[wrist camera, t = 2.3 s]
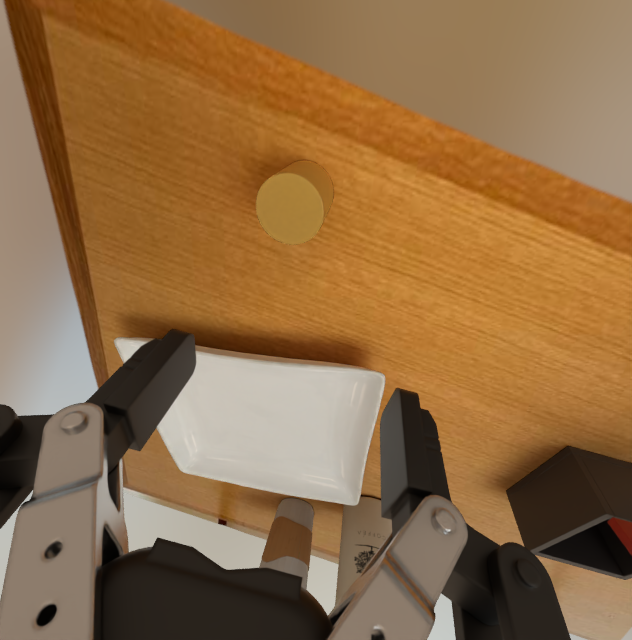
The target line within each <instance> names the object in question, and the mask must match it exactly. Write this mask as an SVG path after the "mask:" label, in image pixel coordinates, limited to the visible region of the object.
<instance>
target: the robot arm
mask: <svg viewBox="0 0 632 640" xmlns="http://www.w3.org/2000/svg"><path fill="white" fill-rule="evenodd" d="M195 367H196V350H195V337H194V335H193V334H191V333H187V332H184V331H180V330H176V329H172V330H170V331H169V332H168V333H167V334H166V336H165V337H164V338H163V339H162V340H159V339H156V338H155V339H153V340H151V341H150V342H148V343H146V344H144V345H142V346H141V347H140V348H139V349H138V350H137V351H136V352H135V353H134V354H133V355H132V356H131V358H129V359H128V360H127V361H126V362H125V363H124V364H123V366H122V367H120V368H119V369H118V370H117V371H116V372H115V373H114V374H113V375H112V376H111V377H110V378H109V379H108V380H107V381H106V382H105V383H104V384H103V385H102V386H101V387H100V388H99V389H98V390H97V391H96V392H95V393H94V395H92V397H90V398H89V400H87V401H86V402H85V403H78V404H74V405H71V406H68V407H66V408H64V409H62V410H60V411H59V412H57V413H56V414H53V415H31V416H17V414H16V413H15V412H14V411H13V409H12V408H11V407H9V406H6V405H1V404H0V529H1V528H2V526H3V525H4V524H5V523H6V522H7V520H8V519H9V518H10V517H11V515H12V514H13V513H14V512H15V511H16V509H17V508H18V507H19V506H20V504H21V503H22V502H23V501H24V500H25V499H26V497H27V496H28V495H29V494H30V493H31V491H32V490H33V494H32V497H31V499H30V500H29V501H27V502H25V503H23V504H22V505H21V507H20V509H19V511H18V514H17V518H16V522H15V528H14V533H13V538H12V543H11V548H10V554H9V559H8V564H7V569H6V574H5V579H4V585H3V590H2V595H1V600H0V640H427V638H428V636H429V634H430V632H431V630H432V627H433V625H434V621H435V613H434V607H435V604H436V602H437V600H438V598H439V596H440V594H441V593H442V594H443V595H444V596H446V597H447V598H449V599H450V600H451V601H452V609H453V617H454V627H455V636H456V640H571V638H570V635H569V632H568V629H567V626H566V623H565V620H564V617H563V614H562V611H561V608H560V605H559V602H558V599H557V596H556V593H555V590H554V587H553V584H552V581H551V579H550V576H549V574H548V573H547V571H546V569H545V568H544V566H543V565H542V563H541V562H540V561H539V559H538V558H537V557H536V556H535V555H534V554H533V553H532V552H531V551H529V550H528V549H527V548H525V547H523V546H522V545H520V544H517V543H513V542H508V543H505V544H503V545H502V546H500V545H498V544H497V543H495V542H493V541H492V540H490V539H489V538H487V537H485V536H484V535H482V534H481V533H479V532H478V531H476V530H474V529H473V528H472V527H470V526H469V525H468V524H467V523H466V522H465V520H464V518H463V516H462V514H461V513H460V511H459V510H458V509H457V507H456V506H455V505H454V504H453V503H452V501H451V498H450V494H449V489H448V484H447V478H446V473H445V468H444V463H443V458H442V452H440V450H441V447H440V442H439V440H438V438H439V437H438V432H437V426H436V423H435V421H434V420H433V418H432V416H431V414H430V413H429V411H428V410H424V409H421V408H420V402H419V396H418V394H417V393H415V392H411V391H407V390H404V389H400V388H396V389H395V391H394V393H393V395H392V396H391V398H390V400H389V402H388V404H387V405H386V407H385V409H384V411H383V413H382V417H381V422H380V454H381V517H383V518H386V519H390V520H392V532H391V533H390V534H389V536H388V537H387V538H386V540H385V541H384V543H383V544H382V545H381V547H380V548H379V549H378V551H377V552H376V553H375V555H374V556H373V558H372V559H371V560H370V562H369V563H368V564H367V566H366V567H365V568H364V570H363V571H362V573H361V574H360V575H359V577H358V578H357V579H356V581H355V582H354V583H353V584H352V585H351V587H350V588H349V589H348V590H347V591H346V593H345V594H344V595H343V597H342V598H341V599H340V600H339V602H338V603H337V605H336V606H335V607H334V609H333V610H332V611H331V613H330V614H329V615H328V616H327V614H326V612H325V611H324V609H323V608H322V606H321V605H320V604H319V603H318V601H317V600H316V599H315V598H314V597H313V596H312V595H311V594H310V593H309V592H308V591H307V590H305V589H304V588H303V587H301V584H302V578H303V577H300V576H297V575H293V574H289V573H286V572H282V571H278V570H275V569H271V568H267V567H265V568H251V569H235V570H226V569H224V568H222V567H220V566H219V565H217V564H216V563H215V562H213V561H212V560H210V559H209V558H207V557H206V556H205V555H203V554H202V553H200V552H199V551H197V550H196V549H195V548H193V547H190V546H186V545H183V544H179V543H176V542H171V541H168V540H165V539H161V538H157V539H156V541H155V543H154V545H153V547H147V548H143V549H138V550H135V551H132V552H129V551H128V536H127V530H126V525H125V520H124V507H123V475H122V457H123V455H124V454H125V453H126V451H127V450H128V448H130V449H134V450H137V451H141V449H142V448H143V446H144V445H145V443H146V442H147V441H148V439H149V438H150V436H151V435H152V433H153V432H154V430H155V429H156V427H157V426H158V424H159V423H160V422H161V420H162V419H163V417H164V416H165V414H166V413H167V411H168V410H169V408H170V407H171V406H172V404H173V403H174V401H175V400H176V398H177V397H178V395H179V394H180V392H181V391H182V390H183V388H184V387H185V385H186V384H187V382H188V381H189V379H190V378H191V376H192V375H193V373H194V370H195Z"/></svg>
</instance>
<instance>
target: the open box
mask: <svg viewBox="0 0 632 640" xmlns="http://www.w3.org/2000/svg"><path fill="white" fill-rule="evenodd" d="M506 493H507V496H508V499H509V502H510V505H511V508H512V511H513V514H514V517H515V520H516V523H517V525H518V528H519V531H520V534H521V537H522V540H523V543H524V546H525V548H527V549H528V550H529V551H531V552H532V553H533V554H534V555H537V556H541V557H545V558H548V559H552V560H555V561H559V562H562V563H566V564H570V565H573V566H577V567H580V568H584V569H587V570H591V571H595V572H598V573H602V574H605V575H609V576H612V577H616V578H620V579H624V580H627V579H630V578H632V556H631V554H630V553H629V551H628V550H627V549H626V547H625V546H624V544H623V543H622V542H621V540H620V539H619V538H618V536H617V535H616V533H615V532H614V531H613V529H612V528H611V526H610V525H609V524H608V521H609V520H610V519H611V518H612V517H614V518H618V519H621V520H625V521H629V522H632V463H629V462H625V461H621V460H618V459H614V458H610V457H607V456H603V455H600V454H596V453H592V452H589V451H585V450H581V449H578V448H574V447H570V446H567V447H566V448H564V449H563V450H562V451H560V452H559V453H558V454H556V455H555V456H554V457H552V458H551V459H549V460H548V461H547V462H545V463H544V464H543V465H541V466H540V467H538V468H537V469H536V470H534V471H533V472H532V473H530V474H529V475H527V476H526V477H525V478H523V479H522V480H521V481H519V482H518V483H517V484H515V485H514V486H512V487H511V488H510V489H508V490H507V491H506Z"/></svg>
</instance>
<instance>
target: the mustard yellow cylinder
mask: <svg viewBox="0 0 632 640" xmlns="http://www.w3.org/2000/svg"><path fill="white" fill-rule="evenodd" d="M333 197H334V189H333V184H332V181H331V178H330V176H329V175H328V173H327V172H326V171H325V170H324V168H322V167H321V166H320V165H318V164H317V163H314V162H311V161H306V160H302V161H297V162H294V163H292V164H290V165H289V166H287V167H285V168H284V169H282V170H281V171H279V172H278V173H276V174H275V175H273V176H271V177H270V178H269V179H267V180H266V181H265V182H264V183H263V185H262V186H261V187H260V189H259V191H258V194H257V198H256V213H257V217H258V220H259V222H260V224H261V226H262V227H263V229H264V230H265V231H266V233H267V234H268V235H270V236H271V237H272V238H273V239H275V240H277V241H279V242H281V243H284V244H289V245H298V244H302V243H305V242H307V241H309V240H310V239H312V238H313V237H314V236H315V235H316V234H317V233H318V231H319V230H320V228H321V226H322V224H323V222H324V219H325V217H326V215H327V213H328V211H329V209H330V207H331V204H332V202H333Z"/></svg>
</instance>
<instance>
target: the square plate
mask: <svg viewBox="0 0 632 640" xmlns="http://www.w3.org/2000/svg"><path fill="white" fill-rule="evenodd" d="M151 340H153V338H126V337H118V338H116V339H115V340H114V343H115V346H116V348H117V350H118V352H119V354H120V356H121V358H122V360H123V362H124V363H125V362H126V361H127V360H128V359H129V358H131V356H132V355H133V354H134V353H135V352H136V351H137V350H138V349H139V348H140V347H141V346H142V345H144V344H146V343H148V342H150V341H151ZM159 340H161V339H159ZM195 350H196V367H195V370H194V373H193V375H192V376H191V378H190V379H189V381H188V382H187V384H186V385H185V387H184V388H183V390H182V391H181V392H180V394H179V395H178V397H177V398H176V400H175V401H174V403H173V404H172V406H171V407H170V408H169V410H168V411H167V413H166V414H165V416H164V417H163V419H162V420H161V422H160V423H159V424H158V426H157V427H156V428H157V430H158V431H159V433H160V435H161V437H162V439H163V441H164V443H165V445H166V447H167V449H168V450H169V452H170V454H171V456H172V458H173V459H174V461H175V463H176V465H177V466H178V468H179V470H181V471H182V472H184V473H187V474H192V475H197V476H202V477H206V478H211V479H215V480H219V481H224V482H228V483H233V484H237V485H241V486H246V487H250V488H255V489H260V490H265V491H270V492H275V493H280V494H285V495H291V496H297V497H303V498H309V499H315V500H321V501H327V502H334V503H340V504H345V505H357V504H358V502H359V499H360V495H361V488H362V482H363V476H364V469H365V464H366V460H367V455H368V451H369V447H370V443H371V438H372V435H373V431H374V427H375V423H376V420H377V416H378V412H379V408H380V404H381V400H382V396H383V392H384V386H385V375H384V374H382V373H381V372H378V371H375V370H370V369H368V368H364V367H359V366H353V365H346V364H339V363H331V362H323V361H312V360H302V359H291V358H283V357H275V356H266V355H258V354H250V353H242V352H235V351H228V350H221V349H215V348H209V347H203V346H197V345H195Z"/></svg>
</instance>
